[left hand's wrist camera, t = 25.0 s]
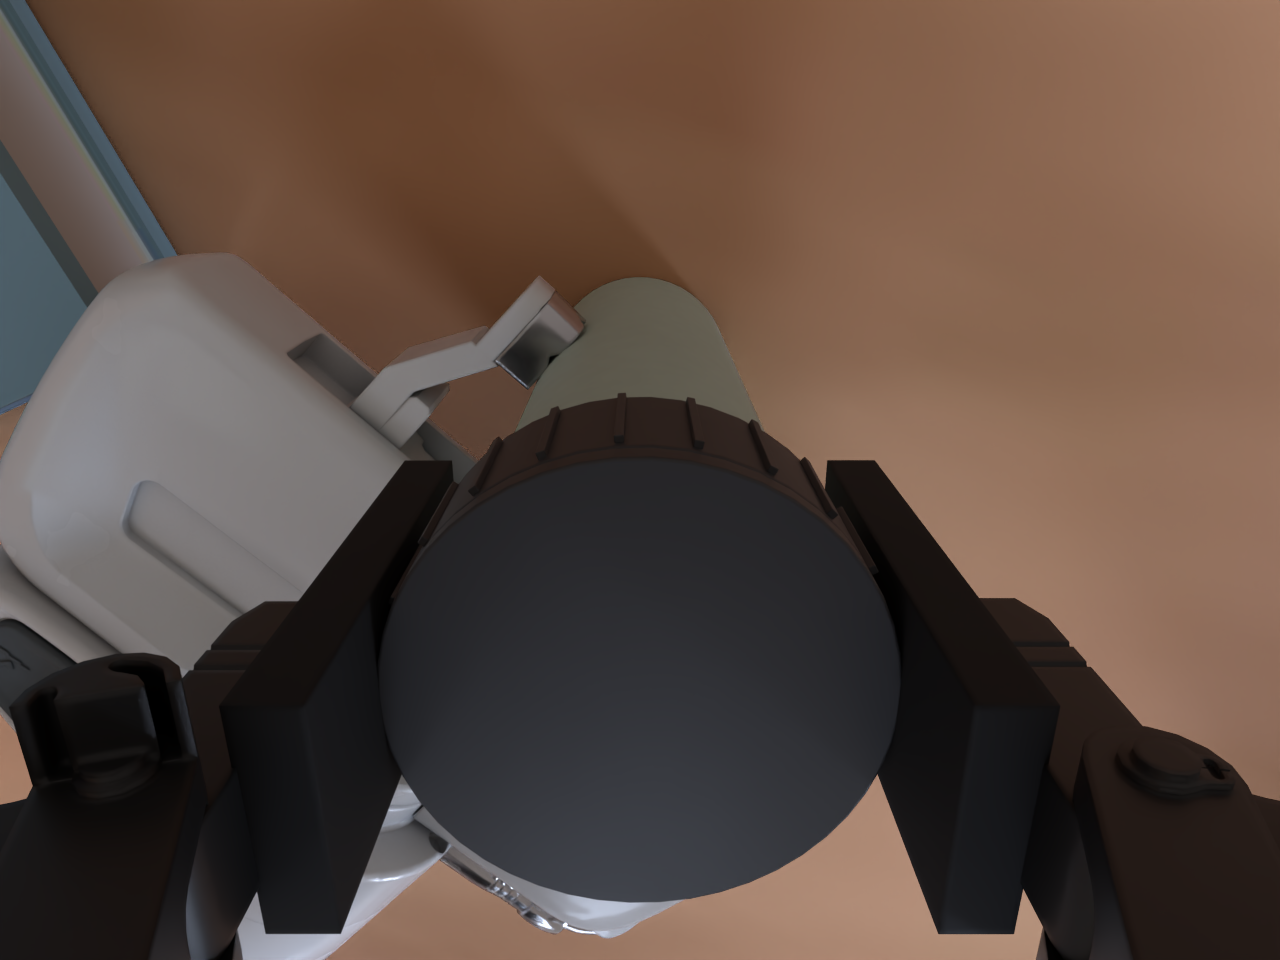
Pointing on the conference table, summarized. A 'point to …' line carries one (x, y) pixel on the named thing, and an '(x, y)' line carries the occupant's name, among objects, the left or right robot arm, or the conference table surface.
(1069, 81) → the conference table surface
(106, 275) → the book
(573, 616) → the lid
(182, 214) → the conference table surface
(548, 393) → the jar
